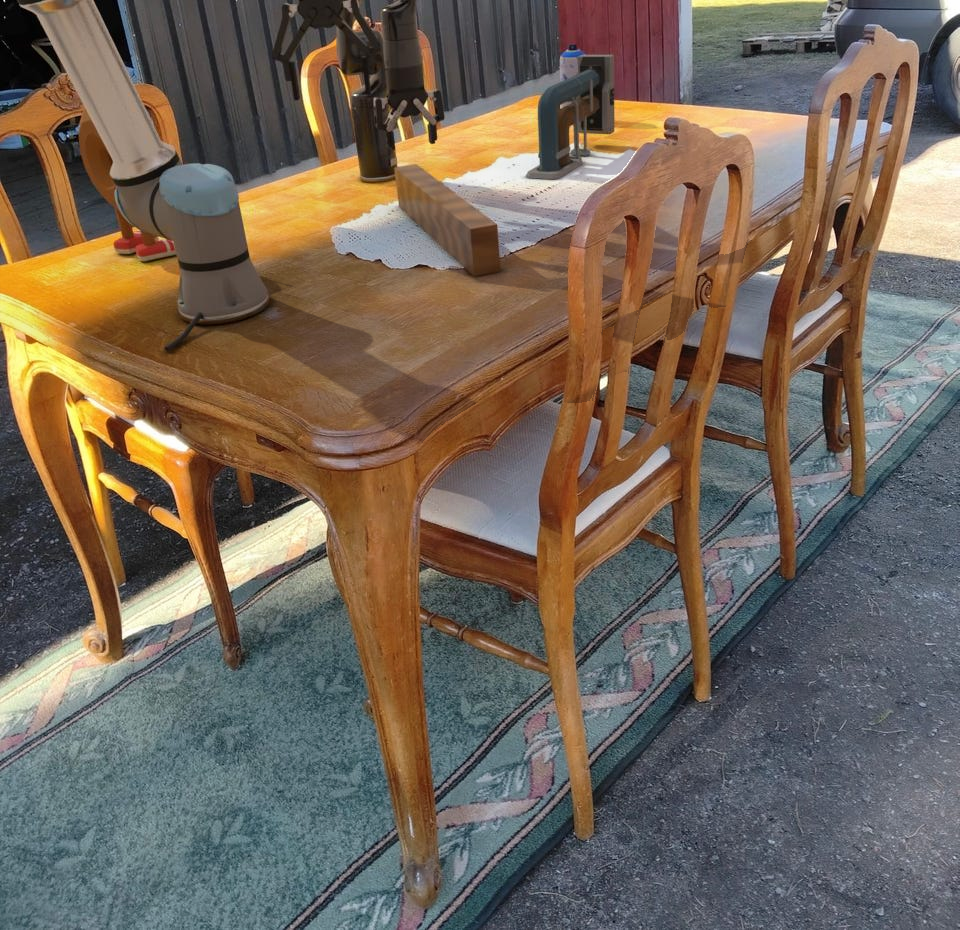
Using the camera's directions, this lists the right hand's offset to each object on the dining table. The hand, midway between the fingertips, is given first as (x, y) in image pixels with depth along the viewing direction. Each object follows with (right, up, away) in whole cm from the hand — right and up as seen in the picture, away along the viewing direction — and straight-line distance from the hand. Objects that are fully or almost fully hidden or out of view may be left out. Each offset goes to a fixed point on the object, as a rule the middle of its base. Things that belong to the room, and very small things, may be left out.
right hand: (412, 146), depth 200 cm
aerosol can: (+41, +33, +78) cm, 94 cm away
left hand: (-14, +4, -17) cm, 22 cm away
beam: (+7, -20, -7) cm, 23 cm away
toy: (-54, -22, -2) cm, 58 cm away
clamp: (+36, +9, +37) cm, 53 cm away
